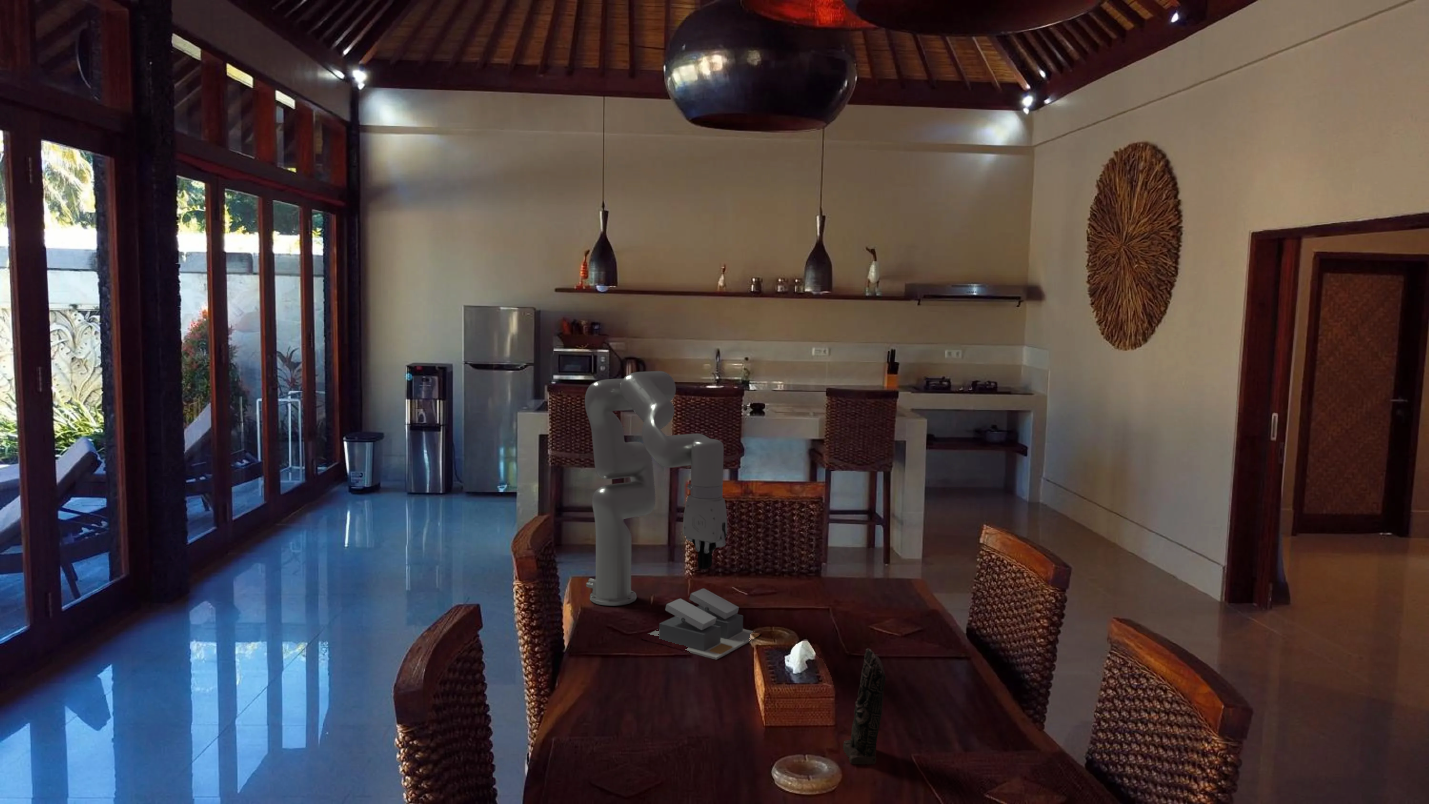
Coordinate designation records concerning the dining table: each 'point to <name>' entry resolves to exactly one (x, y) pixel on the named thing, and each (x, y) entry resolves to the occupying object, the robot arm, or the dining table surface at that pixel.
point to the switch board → (706, 635)
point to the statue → (867, 712)
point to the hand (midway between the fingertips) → (704, 567)
